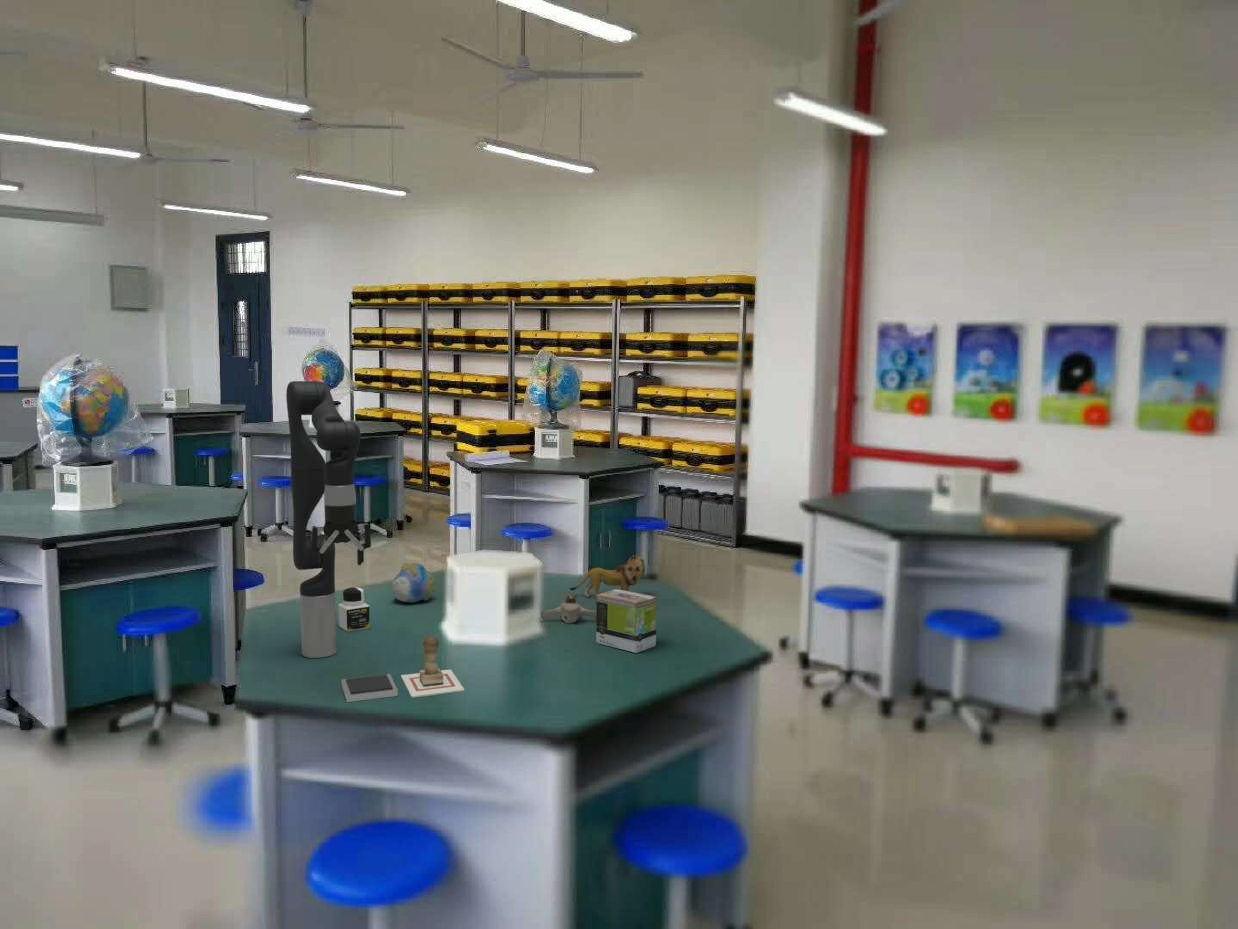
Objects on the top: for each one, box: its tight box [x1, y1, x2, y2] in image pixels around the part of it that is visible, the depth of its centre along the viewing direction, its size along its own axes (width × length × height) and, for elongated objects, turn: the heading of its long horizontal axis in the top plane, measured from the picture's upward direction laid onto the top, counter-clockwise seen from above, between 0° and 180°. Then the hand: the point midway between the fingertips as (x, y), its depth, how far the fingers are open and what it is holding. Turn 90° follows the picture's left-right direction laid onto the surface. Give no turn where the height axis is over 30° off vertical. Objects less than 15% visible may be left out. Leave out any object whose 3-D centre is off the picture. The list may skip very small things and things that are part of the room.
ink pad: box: [341, 673, 399, 703], centre depth 238 cm, size 12×12×2 cm
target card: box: [400, 669, 465, 699], centre depth 244 cm, size 16×13×1 cm
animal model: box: [568, 555, 646, 598], centre depth 328 cm, size 9×26×15 cm, turn 81°
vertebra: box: [540, 592, 596, 624], centre depth 301 cm, size 20×11×10 cm, turn 92°
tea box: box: [595, 588, 657, 654], centre depth 277 cm, size 15×10×15 cm, turn 51°
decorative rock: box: [391, 562, 436, 604], centre depth 322 cm, size 13×15×14 cm
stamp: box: [419, 635, 443, 687], centre depth 243 cm, size 5×5×12 cm
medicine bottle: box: [338, 586, 371, 633], centre depth 291 cm, size 7×7×12 cm
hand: (341, 566), depth 241 cm, fingers open, 8 cm apart
